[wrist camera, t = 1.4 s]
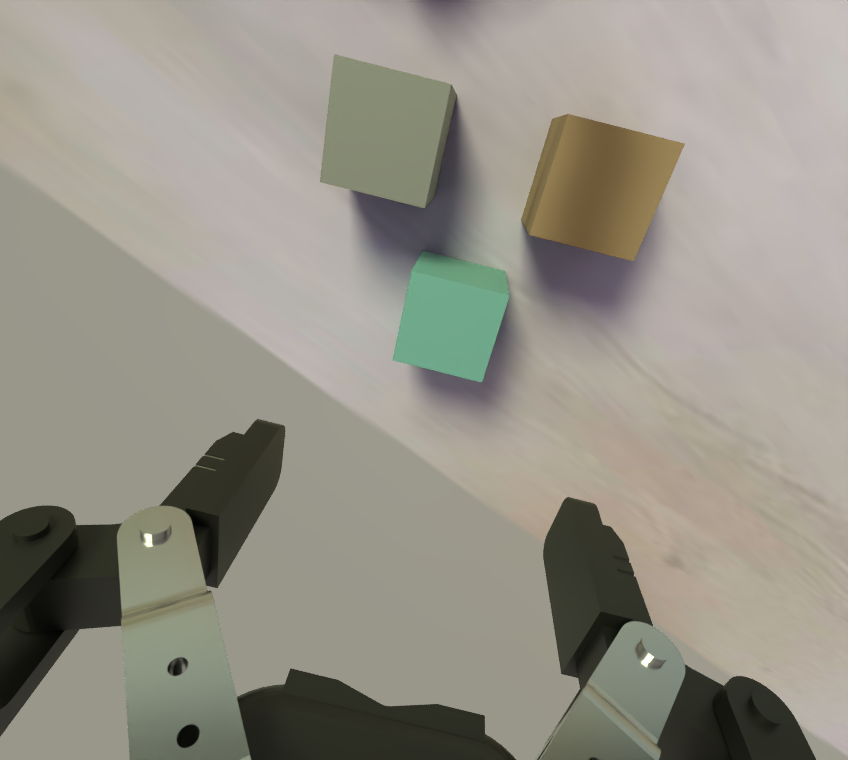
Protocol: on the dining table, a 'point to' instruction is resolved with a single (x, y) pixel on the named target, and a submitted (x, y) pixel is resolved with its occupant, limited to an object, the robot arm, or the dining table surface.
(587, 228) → the brass block
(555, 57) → the dining table surface
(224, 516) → the robot arm
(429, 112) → the grey-green rectangular block
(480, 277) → the teal block
